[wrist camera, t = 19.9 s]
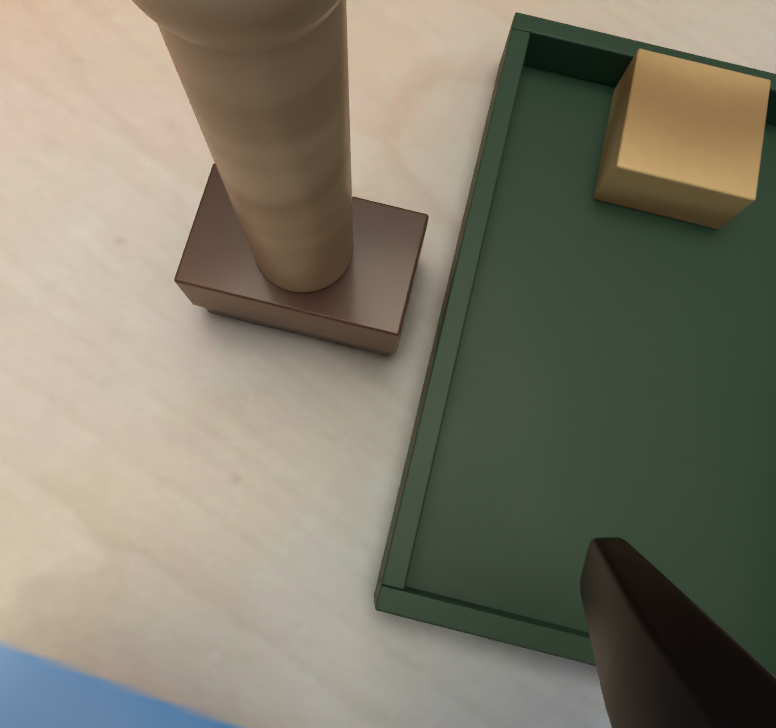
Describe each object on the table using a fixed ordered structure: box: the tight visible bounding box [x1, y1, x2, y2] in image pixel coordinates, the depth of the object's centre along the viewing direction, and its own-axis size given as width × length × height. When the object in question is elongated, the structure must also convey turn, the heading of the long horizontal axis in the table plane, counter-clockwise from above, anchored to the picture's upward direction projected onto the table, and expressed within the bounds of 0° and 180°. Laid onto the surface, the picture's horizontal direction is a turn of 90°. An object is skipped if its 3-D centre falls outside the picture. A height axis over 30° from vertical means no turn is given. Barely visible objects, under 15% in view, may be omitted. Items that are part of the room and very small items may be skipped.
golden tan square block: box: [593, 49, 771, 229], centre depth 20 cm, size 4×4×2 cm
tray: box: [374, 13, 776, 677], centre depth 19 cm, size 18×12×2 cm, turn 166°
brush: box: [132, 0, 429, 355], centre depth 13 cm, size 4×6×15 cm, turn 76°
